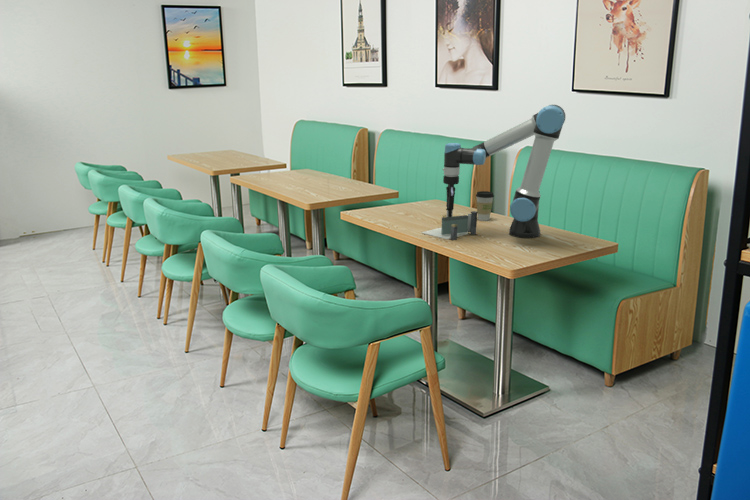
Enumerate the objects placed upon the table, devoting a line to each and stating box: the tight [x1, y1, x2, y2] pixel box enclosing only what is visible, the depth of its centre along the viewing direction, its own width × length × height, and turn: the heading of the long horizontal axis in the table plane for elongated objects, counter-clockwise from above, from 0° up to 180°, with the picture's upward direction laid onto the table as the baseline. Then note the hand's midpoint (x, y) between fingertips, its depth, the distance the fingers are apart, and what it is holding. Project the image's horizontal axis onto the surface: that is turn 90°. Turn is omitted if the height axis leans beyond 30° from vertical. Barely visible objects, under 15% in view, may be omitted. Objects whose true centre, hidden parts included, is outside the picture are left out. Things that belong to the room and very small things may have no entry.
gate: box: [441, 213, 471, 235], centre depth 307 cm, size 16×2×10 cm, turn 113°
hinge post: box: [469, 210, 478, 236], centre depth 308 cm, size 3×3×12 cm
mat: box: [420, 226, 470, 240], centre depth 312 cm, size 17×17×1 cm
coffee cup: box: [475, 190, 495, 222], centre depth 340 cm, size 10×10×15 cm
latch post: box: [450, 224, 458, 241], centre depth 299 cm, size 2×3×7 cm
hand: (449, 222), depth 308 cm, fingers closed
